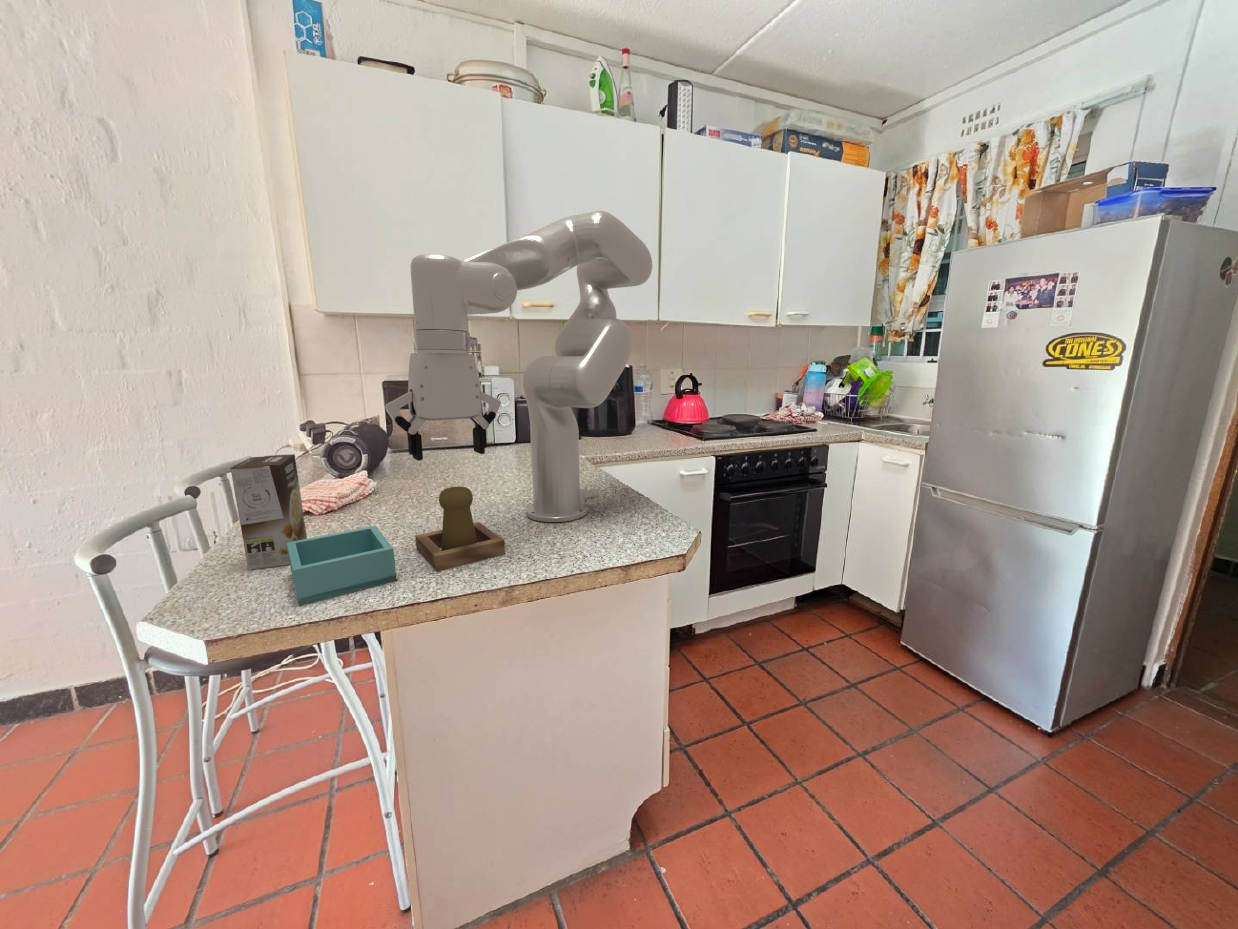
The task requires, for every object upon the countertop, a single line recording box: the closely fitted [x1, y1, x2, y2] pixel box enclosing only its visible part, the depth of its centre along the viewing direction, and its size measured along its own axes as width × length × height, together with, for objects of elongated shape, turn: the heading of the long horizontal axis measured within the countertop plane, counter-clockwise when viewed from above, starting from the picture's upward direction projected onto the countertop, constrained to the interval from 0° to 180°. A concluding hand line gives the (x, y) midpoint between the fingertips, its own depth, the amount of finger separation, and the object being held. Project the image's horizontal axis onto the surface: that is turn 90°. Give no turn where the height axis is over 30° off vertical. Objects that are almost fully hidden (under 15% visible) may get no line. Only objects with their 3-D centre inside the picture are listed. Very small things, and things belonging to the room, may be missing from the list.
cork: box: [438, 486, 479, 551], centre depth 79 cm, size 6×6×11 cm
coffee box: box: [229, 453, 308, 571], centre depth 77 cm, size 9×6×16 cm
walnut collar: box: [414, 521, 506, 573], centre depth 80 cm, size 11×11×2 cm
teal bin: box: [287, 525, 398, 607], centre depth 71 cm, size 12×12×5 cm
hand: (449, 455), depth 77 cm, fingers open, 9 cm apart
